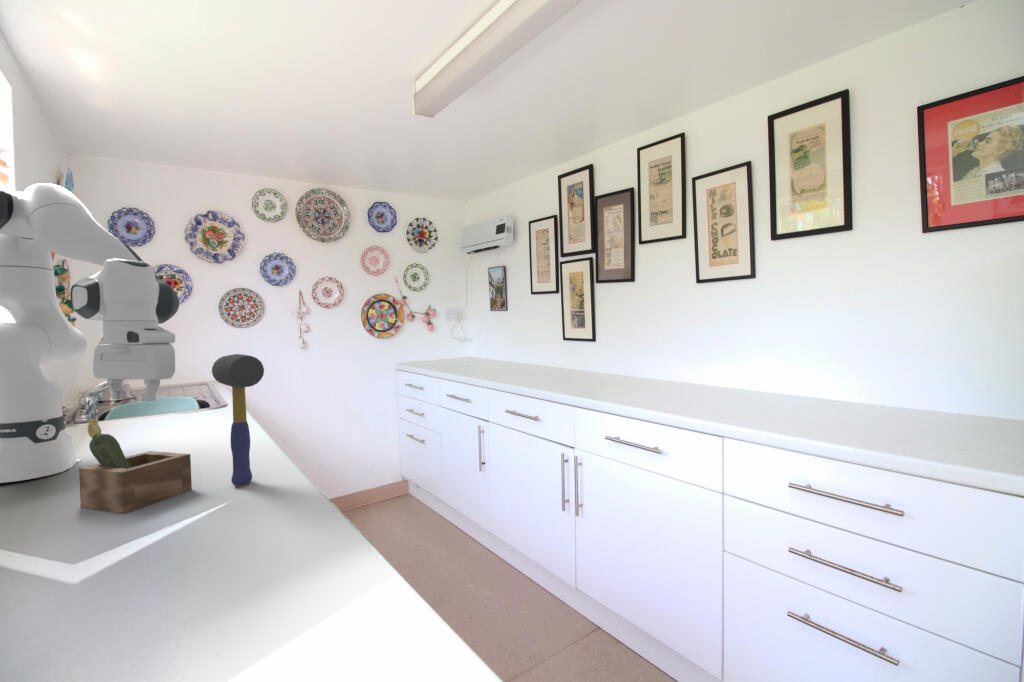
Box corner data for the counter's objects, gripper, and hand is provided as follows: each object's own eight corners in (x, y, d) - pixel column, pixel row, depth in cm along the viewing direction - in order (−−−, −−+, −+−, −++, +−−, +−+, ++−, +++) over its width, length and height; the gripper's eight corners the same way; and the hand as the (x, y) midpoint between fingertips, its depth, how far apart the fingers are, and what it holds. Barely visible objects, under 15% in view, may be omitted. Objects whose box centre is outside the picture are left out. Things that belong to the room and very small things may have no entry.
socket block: (80, 507, 87) (78, 468, 87) (151, 485, 99) (150, 451, 99) (123, 513, 83) (121, 472, 83) (191, 489, 95) (190, 454, 95)
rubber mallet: (271, 486, 96) (266, 353, 95) (233, 497, 90) (228, 355, 89) (249, 476, 104) (244, 353, 103) (213, 485, 98) (208, 354, 97)
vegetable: (137, 501, 88) (75, 422, 86) (128, 508, 89) (67, 430, 87) (160, 488, 92) (101, 412, 90) (151, 495, 93) (93, 420, 92)
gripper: (81, 336, 91) (83, 401, 91) (147, 334, 85) (149, 404, 85) (116, 335, 97) (118, 396, 97) (181, 334, 91) (182, 399, 91)
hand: (133, 400), depth 91 cm, fingers open, 8 cm apart
